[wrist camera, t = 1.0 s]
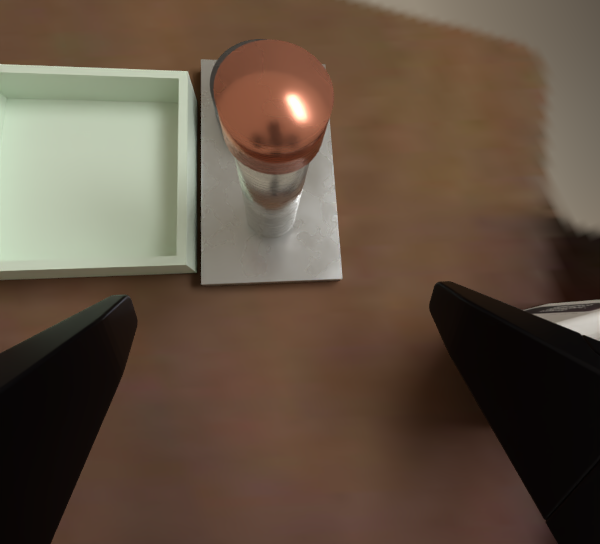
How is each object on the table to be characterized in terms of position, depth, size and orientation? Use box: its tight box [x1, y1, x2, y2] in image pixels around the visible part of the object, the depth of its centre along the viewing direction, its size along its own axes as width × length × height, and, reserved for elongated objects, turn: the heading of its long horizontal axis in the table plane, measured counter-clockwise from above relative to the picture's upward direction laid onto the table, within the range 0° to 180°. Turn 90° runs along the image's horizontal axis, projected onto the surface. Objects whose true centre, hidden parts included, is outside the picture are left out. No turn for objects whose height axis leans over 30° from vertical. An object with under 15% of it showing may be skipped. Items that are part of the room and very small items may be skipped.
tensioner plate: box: [201, 39, 342, 286], centre depth 22 cm, size 18×10×5 cm, turn 3°
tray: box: [0, 64, 197, 280], centre depth 21 cm, size 14×14×3 cm
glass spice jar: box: [213, 40, 334, 238], centre depth 16 cm, size 4×4×12 cm
